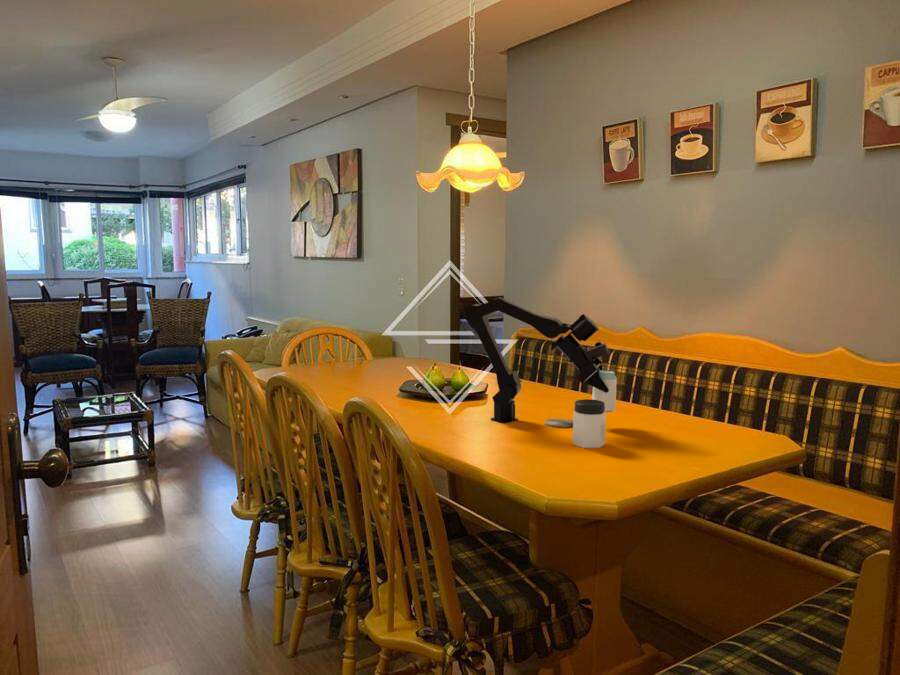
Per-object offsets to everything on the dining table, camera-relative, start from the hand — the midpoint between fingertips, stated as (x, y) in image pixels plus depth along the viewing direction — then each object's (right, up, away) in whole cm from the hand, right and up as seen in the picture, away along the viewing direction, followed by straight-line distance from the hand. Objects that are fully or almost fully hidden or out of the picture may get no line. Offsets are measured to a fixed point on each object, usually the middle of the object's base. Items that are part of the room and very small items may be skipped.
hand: (608, 389), depth 206 cm
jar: (-10, -14, -18) cm, 25 cm away
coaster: (-14, -11, +6) cm, 19 cm away
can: (-1, -7, +1) cm, 7 cm away
